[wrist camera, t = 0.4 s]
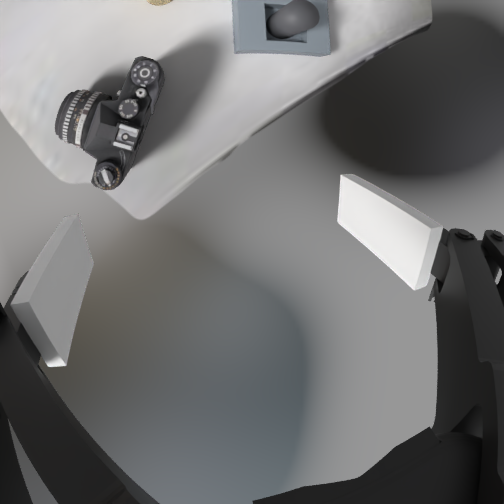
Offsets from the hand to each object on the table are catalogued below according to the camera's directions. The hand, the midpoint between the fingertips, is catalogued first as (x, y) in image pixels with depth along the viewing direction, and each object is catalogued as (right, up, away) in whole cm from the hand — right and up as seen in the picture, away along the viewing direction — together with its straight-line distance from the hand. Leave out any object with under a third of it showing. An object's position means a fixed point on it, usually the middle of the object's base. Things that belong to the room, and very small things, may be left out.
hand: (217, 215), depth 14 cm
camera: (-16, +16, +18) cm, 28 cm away
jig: (+5, +32, +14) cm, 35 cm away
